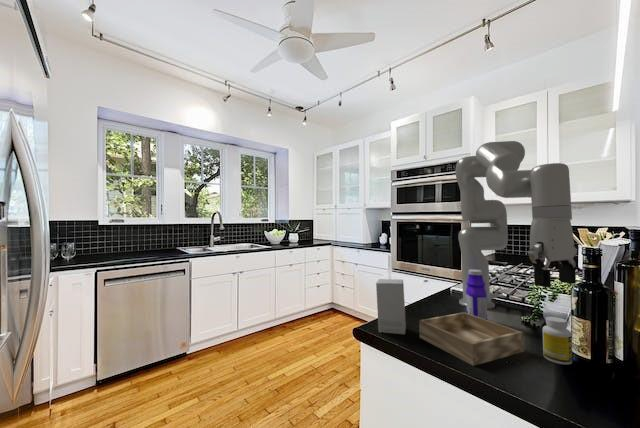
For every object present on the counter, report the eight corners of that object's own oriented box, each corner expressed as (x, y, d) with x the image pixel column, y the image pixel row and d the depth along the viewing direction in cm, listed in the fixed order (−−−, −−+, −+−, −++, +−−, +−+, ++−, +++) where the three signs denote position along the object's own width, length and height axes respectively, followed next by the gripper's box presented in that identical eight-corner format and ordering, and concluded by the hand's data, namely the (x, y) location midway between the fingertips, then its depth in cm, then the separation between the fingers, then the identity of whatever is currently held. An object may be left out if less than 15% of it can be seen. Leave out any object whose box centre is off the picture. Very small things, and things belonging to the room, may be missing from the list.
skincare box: (406, 327, 90) (404, 279, 90) (405, 335, 84) (403, 283, 84) (379, 325, 93) (378, 278, 93) (377, 332, 86) (375, 282, 87)
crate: (464, 328, 89) (464, 312, 89) (523, 351, 72) (522, 332, 72) (419, 337, 82) (419, 320, 82) (473, 365, 66) (472, 344, 66)
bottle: (490, 326, 90) (488, 272, 90) (471, 325, 91) (469, 272, 91) (482, 319, 97) (480, 268, 97) (464, 318, 98) (462, 268, 98)
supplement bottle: (575, 367, 64) (573, 324, 64) (545, 361, 67) (543, 320, 67) (569, 357, 69) (568, 317, 69) (541, 352, 71) (540, 314, 72)
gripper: (555, 215, 75) (559, 279, 75) (512, 215, 69) (515, 284, 68) (590, 213, 69) (595, 284, 68) (546, 213, 62) (550, 291, 61)
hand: (555, 284), depth 68 cm, fingers open, 9 cm apart
